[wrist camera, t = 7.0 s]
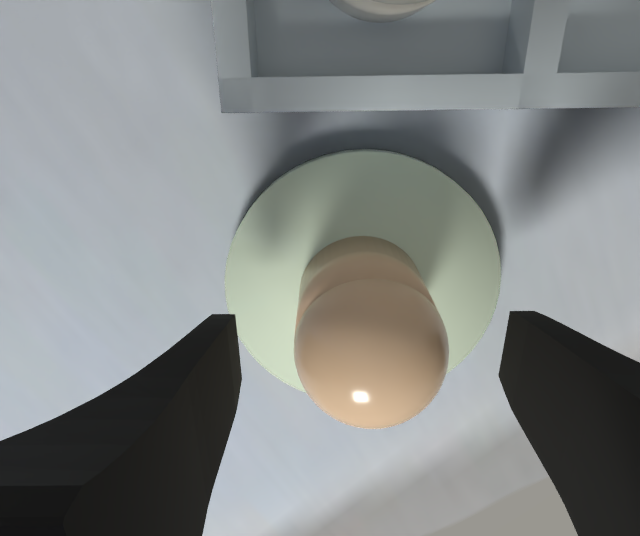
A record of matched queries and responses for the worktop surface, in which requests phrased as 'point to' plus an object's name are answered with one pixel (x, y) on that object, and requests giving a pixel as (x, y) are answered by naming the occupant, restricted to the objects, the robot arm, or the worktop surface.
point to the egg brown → (368, 334)
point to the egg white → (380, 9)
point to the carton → (427, 56)
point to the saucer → (360, 220)
